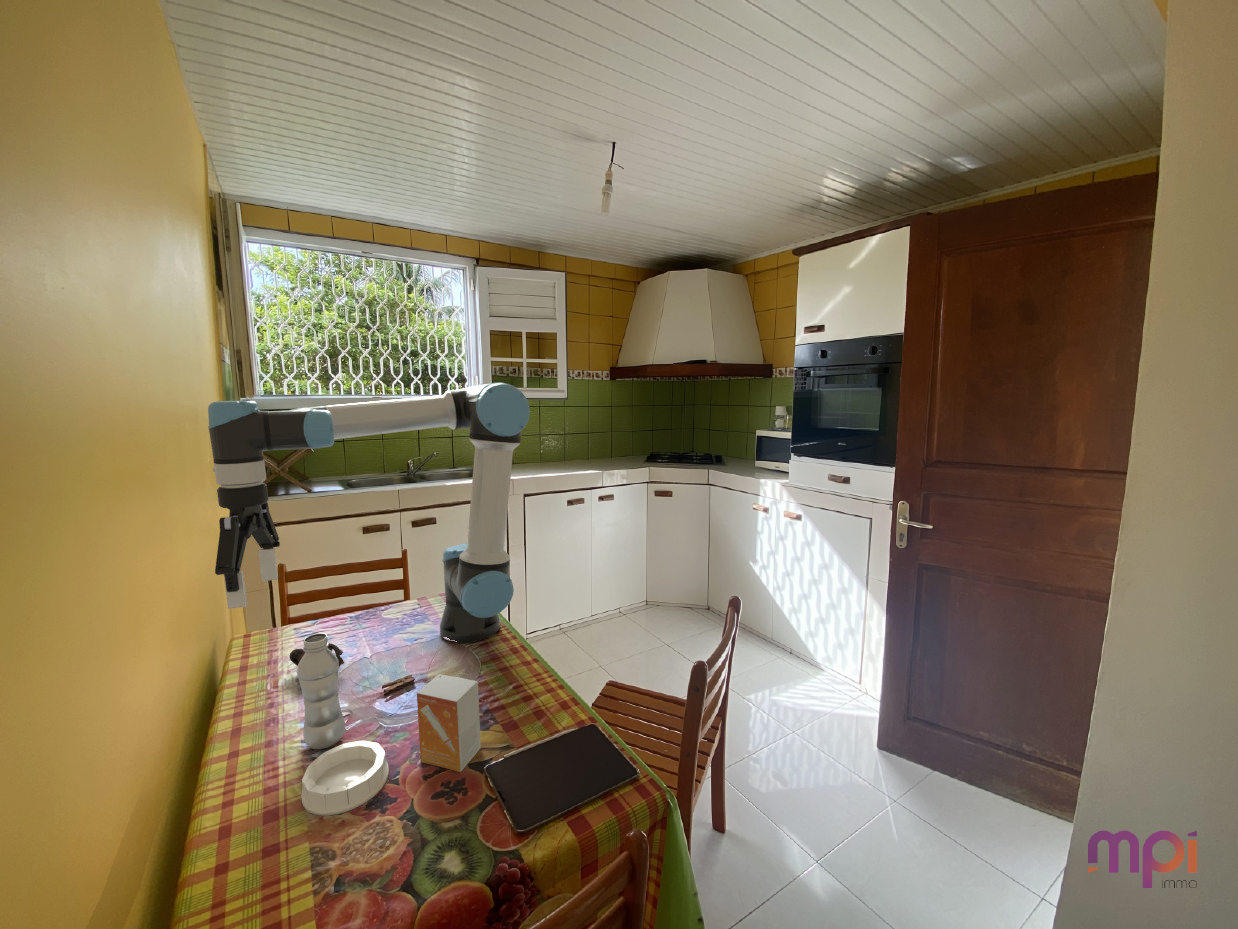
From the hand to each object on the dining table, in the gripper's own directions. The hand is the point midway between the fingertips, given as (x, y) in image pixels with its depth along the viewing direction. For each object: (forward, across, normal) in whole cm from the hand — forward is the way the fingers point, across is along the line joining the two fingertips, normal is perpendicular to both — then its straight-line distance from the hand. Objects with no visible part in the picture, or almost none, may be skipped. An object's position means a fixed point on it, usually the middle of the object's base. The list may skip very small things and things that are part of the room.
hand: (254, 592), depth 98 cm
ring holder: (+24, +25, +21) cm, 41 cm away
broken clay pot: (+25, -12, +5) cm, 28 cm away
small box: (+25, +23, +36) cm, 50 cm away
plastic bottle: (+25, +14, +14) cm, 31 cm away
